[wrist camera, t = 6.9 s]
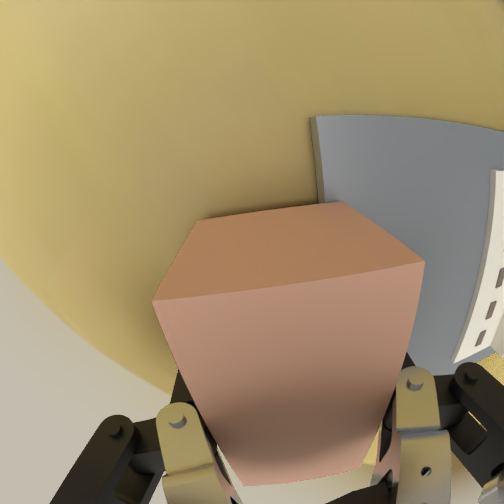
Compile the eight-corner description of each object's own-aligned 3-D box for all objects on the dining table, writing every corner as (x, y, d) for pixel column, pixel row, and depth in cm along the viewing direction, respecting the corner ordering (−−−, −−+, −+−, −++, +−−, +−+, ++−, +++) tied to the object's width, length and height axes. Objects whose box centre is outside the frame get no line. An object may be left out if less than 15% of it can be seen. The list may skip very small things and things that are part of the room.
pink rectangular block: (342, 201, 9) (425, 260, 4) (336, 390, 13) (358, 468, 8) (197, 220, 9) (151, 301, 4) (243, 403, 13) (243, 486, 8)
